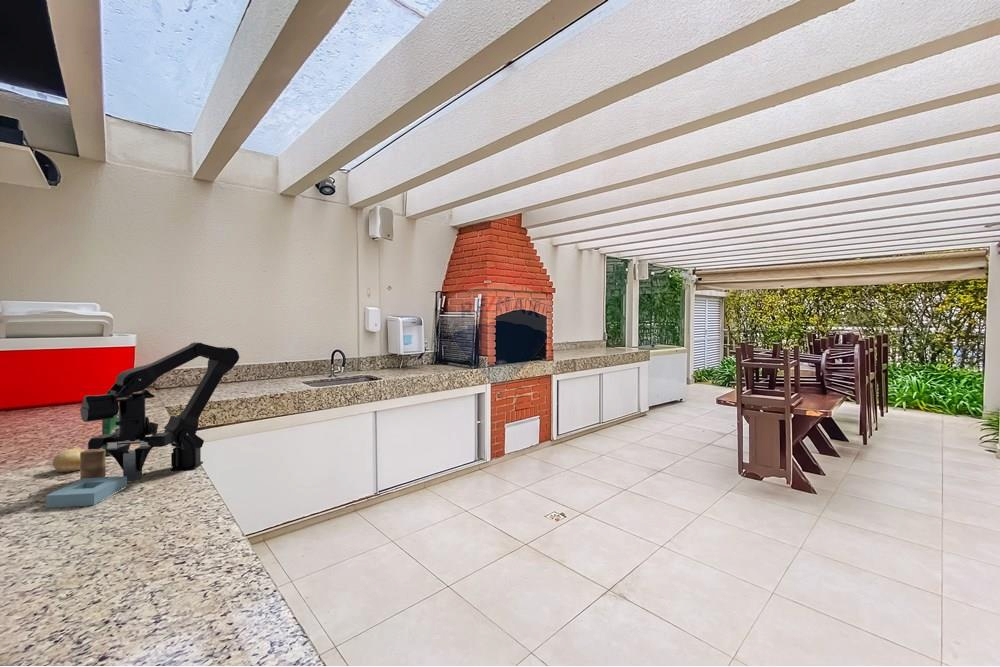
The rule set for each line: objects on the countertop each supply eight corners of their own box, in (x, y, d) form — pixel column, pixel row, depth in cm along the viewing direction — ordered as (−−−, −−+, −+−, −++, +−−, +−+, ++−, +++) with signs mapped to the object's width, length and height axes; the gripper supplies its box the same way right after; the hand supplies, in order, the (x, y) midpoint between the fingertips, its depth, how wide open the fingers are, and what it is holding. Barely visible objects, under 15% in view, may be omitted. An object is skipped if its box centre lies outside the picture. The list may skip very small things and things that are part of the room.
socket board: (126, 487, 118) (126, 476, 118) (94, 505, 107) (94, 493, 106) (84, 489, 117) (83, 478, 117) (45, 508, 105) (45, 495, 105)
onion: (96, 468, 134) (96, 444, 134) (63, 476, 127) (63, 451, 126) (79, 465, 137) (79, 442, 137) (46, 473, 129) (45, 448, 129)
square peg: (142, 477, 126) (142, 449, 125) (135, 481, 123) (135, 453, 123) (130, 478, 125) (130, 450, 125) (123, 482, 122) (123, 453, 122)
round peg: (110, 476, 127) (109, 448, 127) (97, 482, 122) (96, 453, 122) (89, 477, 126) (89, 449, 126) (75, 483, 121) (75, 454, 121)
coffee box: (122, 449, 154) (122, 411, 153) (130, 449, 154) (130, 411, 153) (101, 456, 146) (100, 416, 145) (109, 456, 146) (109, 416, 145)
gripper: (184, 409, 133) (184, 460, 133) (114, 410, 130) (114, 463, 130) (163, 417, 122) (163, 473, 122) (85, 418, 119) (86, 476, 119)
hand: (132, 471), depth 124 cm, fingers closed on square peg, 3 cm apart
